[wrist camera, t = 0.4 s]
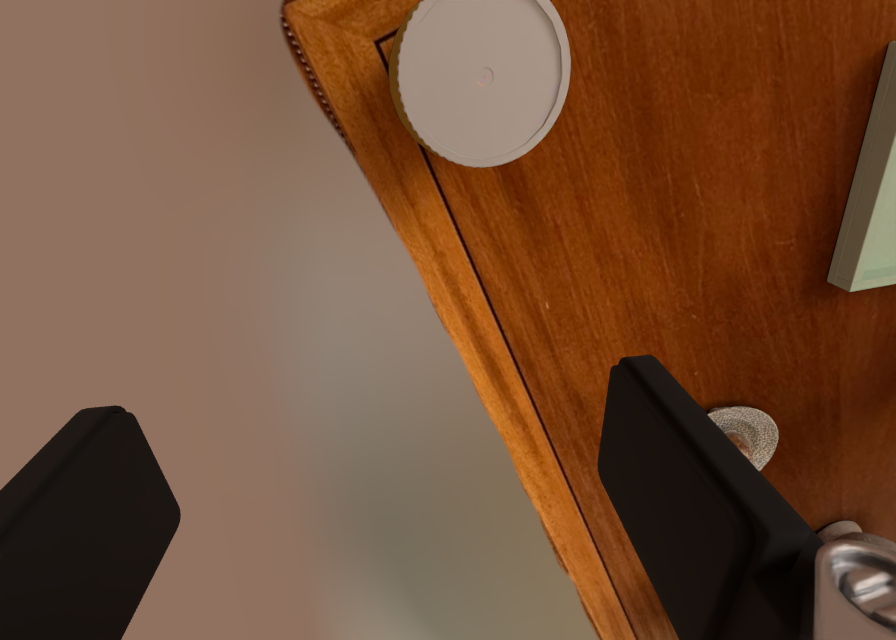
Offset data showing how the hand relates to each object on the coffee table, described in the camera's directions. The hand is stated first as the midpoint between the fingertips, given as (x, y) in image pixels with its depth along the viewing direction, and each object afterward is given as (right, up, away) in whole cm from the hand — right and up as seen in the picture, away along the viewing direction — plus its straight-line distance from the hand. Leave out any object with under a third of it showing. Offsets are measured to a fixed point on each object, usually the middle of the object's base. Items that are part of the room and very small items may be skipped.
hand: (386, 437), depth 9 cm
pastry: (+28, -11, +37) cm, 48 cm away
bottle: (+1, +18, +20) cm, 27 cm away
